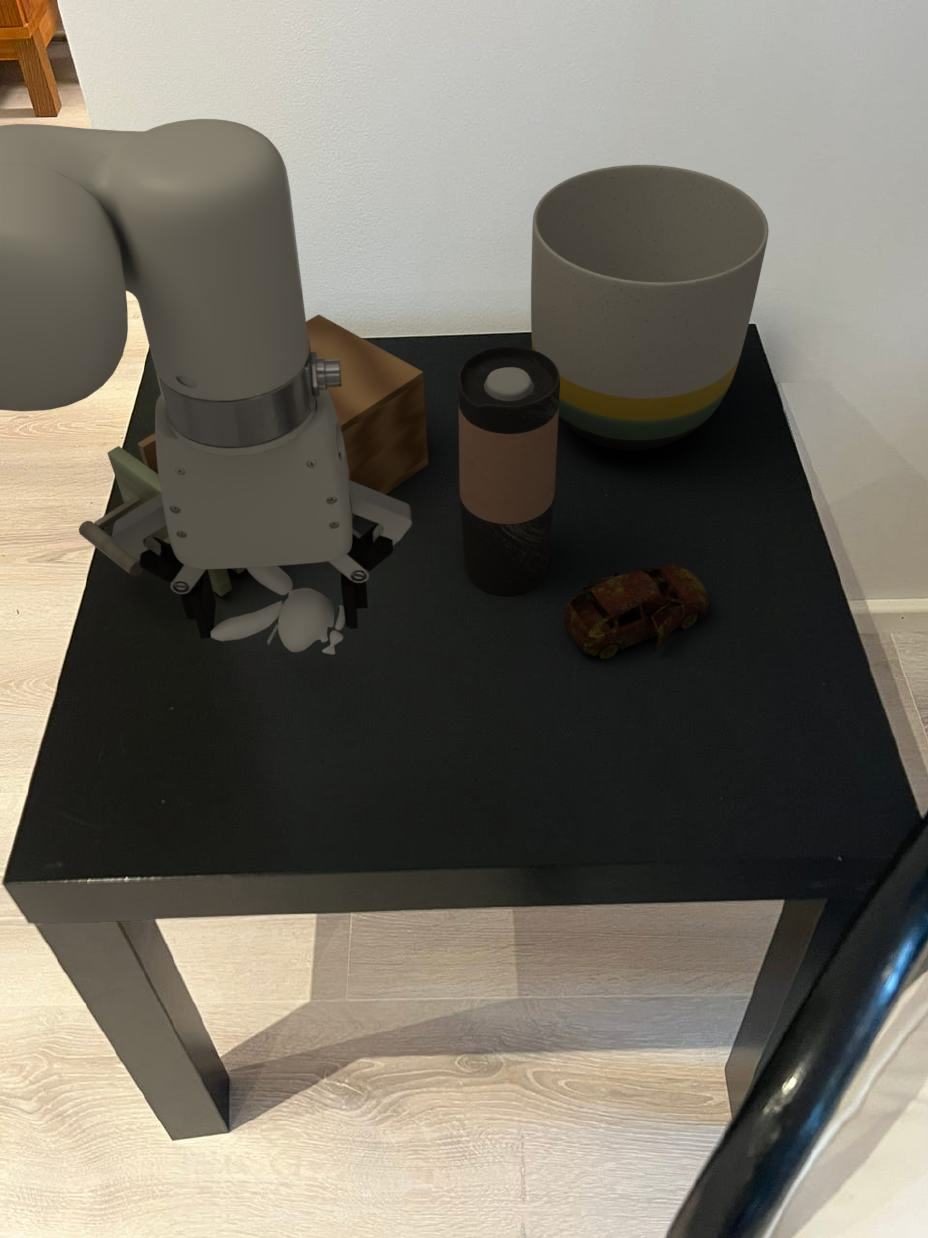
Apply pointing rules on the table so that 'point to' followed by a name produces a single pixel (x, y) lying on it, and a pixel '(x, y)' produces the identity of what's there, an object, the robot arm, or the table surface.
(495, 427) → the travel mug
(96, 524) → the drawer
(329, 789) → the table surface
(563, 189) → the planter
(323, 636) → the rabbit figurine
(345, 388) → the cabinet
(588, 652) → the toy car
